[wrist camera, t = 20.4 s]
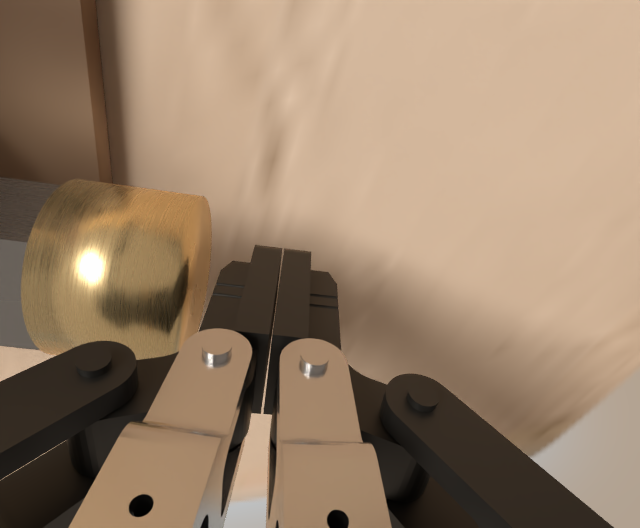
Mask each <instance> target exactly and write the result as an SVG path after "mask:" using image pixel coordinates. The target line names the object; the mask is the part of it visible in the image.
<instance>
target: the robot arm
mask: <svg viewBox="0 0 640 528" xmlns="http://www.w3.org/2000/svg"><path fill="white" fill-rule="evenodd" d="M281 255H282V248H275V247H267V246H259V245H255V247H254V251H253V255H252V259H251V263H246V262H238V261H232V262H231V263H230V264H228V265H227V266H226V267H225V268H223V269H222V270H221V272H220V275H219V277H218V280H217V284H216V286H215V288H214V291H213V295H212V297H211V300H210V302H209V305H208V308H207V311H206V313H205V316H204V319H203V322H202V324H201V327H200V330H199V332H197V333H195V334H194V335H192V336H191V337H189V338H188V339H187V340H186V341H185V342H184V344H183V345H182V347H181V349H180V351H179V352H176V353H174V354H171V355H167V356H162V357H156V358H148V359H141V360H136V357H135V354H134V352H133V351H132V350H131V349H130V348H129V347H127V346H126V345H124V344H121V343H118V342H114V341H94V342H89V343H85V344H82V345H79V346H77V347H74V348H72V349H70V350H68V351H66V352H63V353H61V354H59V355H57V356H55V357H53V358H50V359H48V360H46V361H44V362H42V363H40V364H38V365H35V366H33V367H31V368H29V369H27V370H25V371H22V372H20V373H18V374H16V375H14V376H12V377H9V378H7V379H5V380H3V381H1V382H0V480H1V479H2V480H1V481H0V528H223V525H224V521H225V517H226V514H227V510H228V506H229V502H230V498H231V494H232V490H233V486H234V482H235V479H236V475H237V471H238V467H239V463H240V459H241V455H242V451H243V447H244V442H245V437H246V435H247V433H248V429H249V424H250V417H251V413H259V414H261V407H262V400H263V393H264V386H265V379H266V372H267V365H268V358H269V350H270V343H271V336H272V344H271V353H270V361H269V370H268V379H267V388H266V396H265V405H264V414H271V415H272V420H271V429H270V438H269V446H268V474H267V512H266V528H614V527H612V526H611V525H610V524H609V523H608V522H606V521H605V520H604V519H603V518H602V517H600V516H599V515H598V514H597V513H596V512H594V511H593V510H592V509H591V508H589V507H588V506H587V505H586V504H585V503H583V502H582V501H581V500H580V499H579V498H577V497H576V496H575V495H574V494H573V493H571V492H570V491H569V490H568V489H567V488H565V487H564V486H563V485H562V484H561V483H559V482H558V481H557V480H556V479H554V478H553V477H552V476H551V475H550V474H548V473H547V472H546V471H545V470H544V469H542V468H541V467H540V466H539V465H538V464H537V463H535V462H534V461H533V460H532V459H530V458H529V457H528V456H527V455H526V454H524V453H523V452H522V451H521V450H520V449H518V448H517V447H516V446H515V445H514V444H512V443H511V442H510V441H509V440H508V439H506V438H505V437H504V436H503V435H502V434H500V433H499V432H498V431H497V430H496V429H494V428H493V427H492V426H491V425H490V424H488V423H487V422H486V421H485V420H484V419H482V418H481V417H480V416H479V415H477V414H476V413H475V412H474V411H473V410H471V409H470V408H469V407H468V406H467V405H465V404H464V403H463V402H462V401H461V400H459V399H458V398H457V397H456V396H455V395H453V394H452V393H451V392H450V391H449V390H447V389H446V388H445V387H444V386H442V385H441V384H440V383H438V382H437V381H435V380H433V379H431V378H428V377H426V376H422V375H418V374H403V375H399V376H397V377H395V378H393V379H392V380H391V381H390V382H389V383H388V385H386V384H384V383H381V382H378V381H375V380H373V379H370V378H368V377H365V376H363V375H361V374H360V373H358V372H357V371H355V370H354V369H353V368H352V367H351V366H349V364H348V362H347V359H346V357H345V355H344V354H343V353H342V351H341V343H340V327H339V311H338V299H337V297H338V295H337V284H336V282H335V281H334V280H333V278H332V277H331V275H330V274H329V273H328V272H321V271H313V270H311V252H308V251H300V250H291V249H284V255H283V263H282V270H281V277H280V284H279V292H278V299H277V290H278V281H279V272H280V264H281ZM276 299H277V306H276ZM275 307H276V313H275ZM274 315H275V321H274ZM273 322H274V328H273ZM272 329H273V335H272ZM65 440H66V441H65ZM64 441H65V442H64ZM62 442H63V443H62ZM60 443H62V444H60ZM59 444H60V445H59ZM57 445H58V446H57ZM55 446H57V447H55ZM54 447H55V448H54ZM52 448H53V449H52ZM50 449H52V450H50ZM49 450H50V451H49ZM47 451H48V452H47ZM45 452H47V453H45ZM44 453H45V454H44ZM42 454H43V455H42ZM40 455H42V456H40ZM39 456H40V457H39ZM37 457H39V458H37ZM35 458H37V459H35ZM34 459H35V460H34ZM32 460H34V461H32ZM30 461H32V462H30ZM29 462H30V463H29ZM27 463H29V464H27ZM26 464H27V465H26ZM24 465H25V466H24ZM22 466H24V467H22ZM21 467H22V468H21ZM19 468H20V469H19ZM17 469H19V470H17ZM16 470H17V471H16ZM14 471H15V472H14ZM12 472H14V473H12ZM11 473H12V474H11ZM9 474H10V475H9ZM7 475H9V476H7ZM6 476H7V477H6ZM4 477H5V478H4ZM3 478H4V479H3Z"/></svg>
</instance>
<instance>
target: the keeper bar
mask: <svg viewBox="0 0 640 528" xmlns="http://www.w3.org/2000/svg"><path fill="white" fill-rule="evenodd" d="M211 235H212V232H211V215H210V208H209V204H208V201H207V199H206V198H205V197H203V196H197V195H190V194H183V193H176V192H168V191H161V190H154V189H147V188H140V187H132V186H125V185H118V184H111V183H104V182H96V181H89V180H82V179H73V180H70V181H67V182H65V183H64V184H62V185H57V184H50V183H42V182H35V181H28V180H20V179H13V178H6V177H0V346H7V347H16V348H26V349H35V350H41V351H43V352H44V353H46V354H51V355H59V354H61V353H63V352H66V351H68V350H70V349H72V348H74V347H77V346H79V345H82V344H85V343H89V342H94V341H114V342H118V343H121V344H124V345H126V346H127V347H129V348H130V349H131V350H132V351H133V352H134V354H135V357H136V360H141V359H148V358H156V357H162V356H167V355H171V354H174V353H176V352H179V351H180V349H181V347H182V345H183V344H184V342H185V341H186V340H187V339H188V338H189V337H191V336H192V335H194V334H195V333H197V332H198V329H199V325H200V321H201V317H202V312H203V307H204V302H205V297H206V291H207V284H208V277H209V268H210V258H211Z"/></svg>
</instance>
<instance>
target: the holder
mask: <svg viewBox="0 0 640 528" xmlns="http://www.w3.org/2000/svg"><path fill="white" fill-rule="evenodd" d="M0 177H6V178H13V179H20V180H28V181H35V182H42V183H50V184H57V185H62V184H64V183H65V182H67V181H70V180H73V179H82V180H89V181H96V182H104V183H111V184H112V173H111V163H110V152H109V141H108V130H107V120H106V109H105V98H104V87H103V77H102V66H101V55H100V44H99V34H98V23H97V12H96V1H95V0H0Z"/></svg>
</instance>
